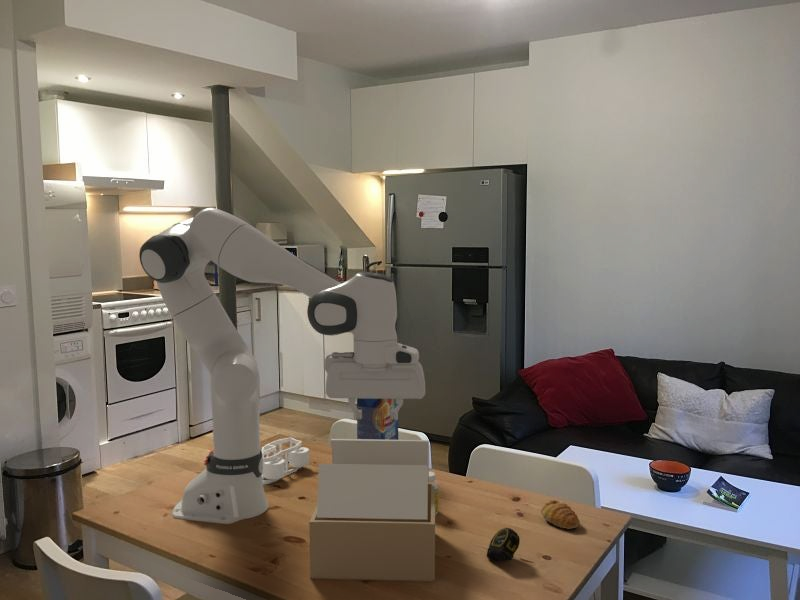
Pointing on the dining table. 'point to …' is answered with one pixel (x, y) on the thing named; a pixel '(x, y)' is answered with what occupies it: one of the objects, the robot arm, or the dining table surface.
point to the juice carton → (377, 419)
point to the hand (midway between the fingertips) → (376, 419)
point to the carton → (374, 547)
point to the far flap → (380, 452)
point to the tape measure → (503, 545)
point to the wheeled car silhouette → (277, 465)
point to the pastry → (560, 515)
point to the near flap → (373, 491)
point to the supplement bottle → (431, 479)
